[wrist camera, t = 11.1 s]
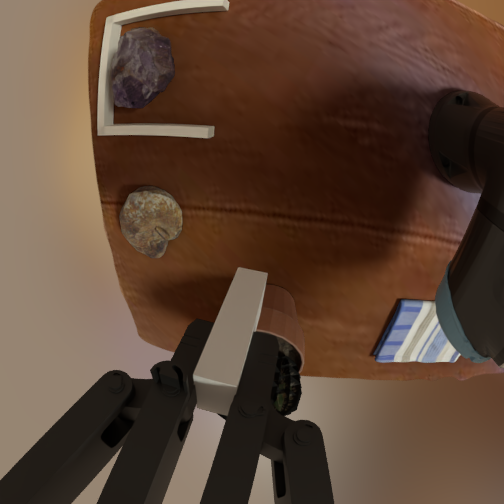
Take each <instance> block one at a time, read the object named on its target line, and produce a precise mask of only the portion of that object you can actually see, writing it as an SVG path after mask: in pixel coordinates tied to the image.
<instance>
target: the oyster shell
mask: <svg viewBox="0 0 504 504" xmlns="http://www.w3.org/2000/svg"><path fill="white" fill-rule="evenodd" d="M119 218H120V224H121V231H122V234H123V235H124V237H125V238H126V239H127V240H128V241H129V243H131V245H132V246H133V247H134V248H135V249H136V250H137V251H139V252H141V253H143V254H145V255H147V256H149V257H150V258H159V257H161V256H162V255H163V254H164V253H165V250H166V247H167V244H168V240H172V239H175V238H177V237H178V236H179V234H180V232H181V230H182V211H181V209H180V207H179V205H178V203H177V202H176V201H175V200H174V198H173V197H172V196H171V195H170V194H169V193H167V192H166V191H165V190H162V189H160V188H158V187H156V186H144V187H140V188H138V189H137V190H135V191H134V192H133V193H131V194H129V196H128V198H127V200H126V202H125V204H124V205H123V207H122V208H121V212H120V215H119Z"/></svg>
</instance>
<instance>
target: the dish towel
mask: <svg viewBox="0 0 504 504" xmlns="http://www.w3.org/2000/svg"><path fill="white" fill-rule="evenodd" d="M373 355H376V357H375V361H377V362H410V361H420V362H425V363H427V362H428V363H429V362H431V363H432V362H451V363H453V362H455V361H456V360H457V358H458V357H459V356H460V355H461V354H460V353H459V352H458V351H457V350H456V349H455V348H454V347H453V346H452V345H451V343H450V342H449V340H448V339H447V337H446V336H445V334H444V332H443V330H442V328H441V326H440V324H439V321H438V318H437V314H436V305H435V301H424V300H411V299H402V300H401V301H400V303H399V305H398V307H397V309H396V312H395V314H394V316H393V318H392V320H391V322H390V323H389V325H388V327H387V329H386V331H385V332H384V334H383V337H382V339H381V341H380V343H379V345H378V346H377V348H376V350H375V352H374V353H373Z"/></svg>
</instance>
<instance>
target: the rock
mask: <svg viewBox="0 0 504 504" xmlns="http://www.w3.org/2000/svg"><path fill="white" fill-rule="evenodd" d="M111 68H112V72H111V78H112V84H113V86H112V90H113V99H114V101H115V105H116V106H118V107H120V106H123V107H127V108H143V107H145V106H146V105H147V104H148V103H150V102H151V101H152V100H153V99H154V98H155V97H156V96H157V95H158V94H159V93H160V92H163V91H164V90H165V89H166V87H167V85H168V83H169V82H171V80H172V79H173V77H174V74H175V70H174V59H173V57H172V54H171V42H170V40H169V39H168V38H166V37H163V36H161V35H160V33H159V32H158V31H157V30H156V29H154V28H144V27H139V28H134V29H131V31H128V32H126V33H125V34H124V36H121V37H120V40H119V42H118V50H117V52H116V53H115V54H114V59H113V62H112V65H111Z"/></svg>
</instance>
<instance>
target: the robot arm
mask: <svg viewBox="0 0 504 504" xmlns="http://www.w3.org/2000/svg"><path fill="white" fill-rule="evenodd" d="M429 146H430V151H431V154H432V157H433V160H434V162H435V164H436V166H437V168H438V170H439V171H440V173H441V174H442V175H443V176H444V177H445V178H446V179H447V180H448V181H449V182H450V183H452V184H453V185H455V186H456V187H458V188H459V189H461V190H463V191H466V192H470V193H482V194H481V197H480V199H479V202H478V205H477V207H476V209H475V211H474V214H473V216H472V219H471V221H470V223H469V226H468V228H467V230H466V233H465V235H464V237H463V239H462V241H461V243H460V245H459V247H458V250H457V252H456V254H455V256H454V257H453V259H452V261H450V262H449V264H448V266H447V268H446V272H445V275H444V277H443V279H442V281H441V283H440V285H439V287H438V289H437V292H436V296H435V305H436V314H437V318H438V321H439V324H440V326H441V328H442V330H443V332H444V334H445V336H446V337H447V339H448V340H449V342H450V343H451V345H452V346H453V347H454V348H455V349H456V350H457V351H458V352H459V353H460V354H461V355H462V356H463V357H465V358H470V360H471V361H472V362H475V363H482V362H485V361H487V360H489V359H491V358H492V359H493V360H494V361H495V362H496V364H497V365H498V366H499V367H500V368H504V108H503V107H499V106H498V105H496V104H495V103H493V102H492V101H490V100H489V99H488V98H486V97H484V96H483V95H481V94H478V93H475V92H471V91H456V92H452V93H450V94H448V95H446V96H445V97H443V98H442V99H441V100H440V101H439V102H438V104H437V105H436V107H435V109H434V111H433V113H432V116H431V119H430V124H429ZM267 275H268V273H265V272H260V271H255V270H250V269H245V268H241V267H238V269H237V272H236V274H235V276H234V279H233V281H232V283H231V286H230V288H229V290H228V293H227V295H226V297H225V300H224V302H223V305H222V307H221V309H220V312H219V314H218V316H217V319H216V321H215V323H213V322H209V321H205V320H201V319H196V320H195V321H193V322H192V323H191V324H190V325H188V327H187V329H186V331H185V333H184V336H183V337H182V339H181V341H180V344H179V345H178V347H177V349H176V351H175V353H174V355H173V357H172V359H171V361H162V362H159V363H157V364H155V365H154V366H153V367H152V369H151V370H150V371H151V374H152V377H153V379H134V378H130V376H129V375H128V374H127V373H125V372H123V371H120V370H113V371H109V372H107V373H106V374H104V375H103V376H102V377H101V378H100V379H99V380H98V381H97V382H96V383H95V384H94V385H93V386H92V387H91V388H90V389H89V390H88V391H87V392H86V393H85V394H84V395H83V396H82V397H81V398H80V399H79V400H78V401H77V402H76V403H75V404H74V405H73V406H72V407H71V408H70V409H69V410H68V411H67V412H66V413H65V414H64V415H63V416H62V417H61V418H60V419H59V420H58V421H57V422H56V423H55V424H54V425H53V426H52V427H51V428H50V429H49V430H48V432H46V433H45V435H44V436H43V437H42V438H41V439H39V441H38V442H37V443H36V444H35V445H34V446H33V447H32V448H31V449H30V450H29V451H28V452H27V453H26V454H25V455H24V456H23V457H22V458H21V459H20V460H19V461H18V463H16V465H14V467H13V468H12V469H11V470H10V471H9V472H8V473H7V474H6V475H5V476H4V477H3V478H2V479H1V480H0V504H71V503H72V502H73V501H74V500H75V499H76V497H78V495H79V494H80V493H81V492H82V491H83V490H84V489H85V488H86V487H87V485H88V484H89V483H90V482H91V481H92V480H93V479H94V478H95V477H96V475H97V474H98V473H99V472H100V471H101V470H102V469H103V467H104V466H105V465H106V464H107V463H108V462H109V461H110V460H111V458H112V457H113V456H114V455H115V454H116V452H118V450H119V449H120V448H121V447H122V446H123V447H122V449H121V451H120V453H119V455H118V457H117V460H116V462H115V464H114V466H113V468H112V471H111V473H110V475H109V477H108V479H107V482H106V484H105V486H104V488H103V491H102V493H101V495H100V497H99V500H98V502H97V504H162V502H163V499H164V497H165V494H166V491H167V488H168V485H169V483H170V480H171V478H172V475H173V472H174V470H175V467H176V464H177V461H178V459H179V456H180V453H181V451H182V448H183V445H184V443H185V440H186V437H187V435H188V432H189V429H190V426H191V423H192V421H193V412H194V409H195V406H196V404H197V408H199V409H203V410H206V411H210V412H214V413H218V414H221V415H225V416H227V419H226V422H225V425H224V429H223V432H222V435H221V438H220V442H219V445H218V449H217V451H216V455H215V458H214V461H213V464H212V467H211V471H210V474H209V477H208V480H207V483H206V486H205V489H204V492H203V495H202V499H201V502H200V504H248V500H249V497H250V493H251V489H252V485H253V481H254V477H255V473H256V468H257V464H258V460H259V455H260V454H261V455H263V456H265V457H267V458H269V459H271V466H272V477H273V489H274V501H275V504H334V499H333V493H332V487H331V481H330V475H329V469H328V463H327V458H326V452H325V446H324V441H323V436H322V432H321V430H320V428H319V427H318V426H317V425H316V424H315V423H313V422H311V421H308V420H298V421H293V420H291V419H289V418H287V417H285V416H283V415H281V414H280V413H278V412H277V411H276V410H275V409H274V407H273V405H272V403H271V391H272V385H273V380H274V375H275V369H276V363H277V357H278V352H279V343H278V340H277V337H276V336H274V335H269V334H264V333H259V332H256V329H257V325H258V321H259V317H260V313H261V308H262V302H263V297H264V291H265V286H266V280H267Z"/></svg>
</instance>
